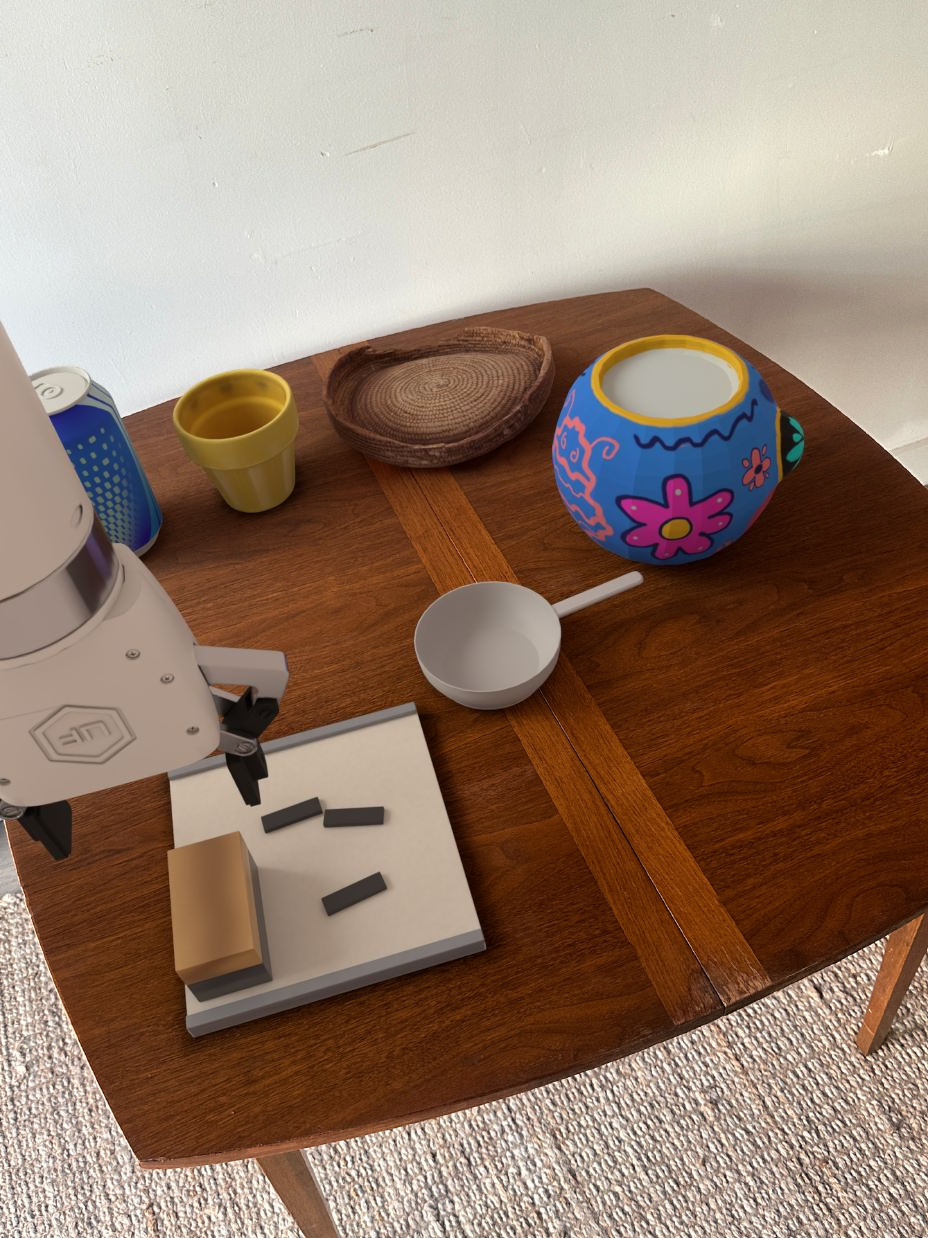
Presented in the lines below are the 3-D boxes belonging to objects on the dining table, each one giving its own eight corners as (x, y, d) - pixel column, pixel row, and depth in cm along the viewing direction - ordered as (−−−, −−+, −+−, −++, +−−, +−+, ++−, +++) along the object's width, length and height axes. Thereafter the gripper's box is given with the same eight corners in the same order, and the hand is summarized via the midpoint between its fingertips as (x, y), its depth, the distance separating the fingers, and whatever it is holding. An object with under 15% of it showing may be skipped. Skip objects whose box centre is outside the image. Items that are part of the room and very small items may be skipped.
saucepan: (401, 640, 79) (393, 607, 77) (608, 565, 83) (608, 530, 80) (450, 742, 72) (444, 709, 70) (675, 655, 76) (677, 621, 73)
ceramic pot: (815, 560, 81) (848, 403, 70) (611, 632, 78) (611, 480, 67) (705, 439, 92) (719, 288, 81) (524, 497, 89) (512, 349, 78)
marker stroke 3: (328, 917, 63) (327, 914, 63) (322, 901, 64) (320, 898, 64) (387, 889, 64) (386, 886, 64) (380, 874, 65) (379, 870, 65)
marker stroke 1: (265, 834, 68) (264, 831, 67) (261, 819, 69) (260, 816, 68) (323, 813, 68) (322, 810, 68) (318, 799, 69) (317, 796, 69)
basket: (505, 328, 108) (502, 286, 104) (598, 427, 95) (597, 382, 91) (305, 396, 103) (294, 354, 100) (374, 509, 90) (364, 466, 87)
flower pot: (284, 536, 89) (256, 447, 82) (184, 517, 92) (148, 430, 85) (334, 463, 96) (311, 374, 88) (238, 447, 99) (209, 361, 92)
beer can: (161, 497, 95) (98, 348, 83) (172, 554, 89) (106, 403, 77) (71, 523, 94) (-6, 375, 82) (77, 583, 88) (-5, 433, 76)
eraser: (198, 1003, 60) (175, 971, 57) (189, 885, 66) (166, 850, 62) (273, 981, 61) (254, 948, 57) (257, 866, 66) (239, 830, 63)
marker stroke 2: (323, 828, 68) (322, 824, 67) (325, 812, 68) (324, 809, 68) (383, 824, 67) (382, 821, 67) (384, 809, 68) (383, 805, 68)
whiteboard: (193, 1038, 60) (186, 1029, 59) (173, 779, 73) (167, 768, 72) (486, 949, 62) (484, 939, 61) (416, 712, 75) (414, 701, 74)
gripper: (-234, 704, 36) (-16, 922, 49) (243, 581, 38) (336, 823, 50) (-195, 565, 41) (-6, 795, 54) (225, 461, 43) (313, 709, 55)
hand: (159, 809), depth 52 cm, fingers open, 9 cm apart
